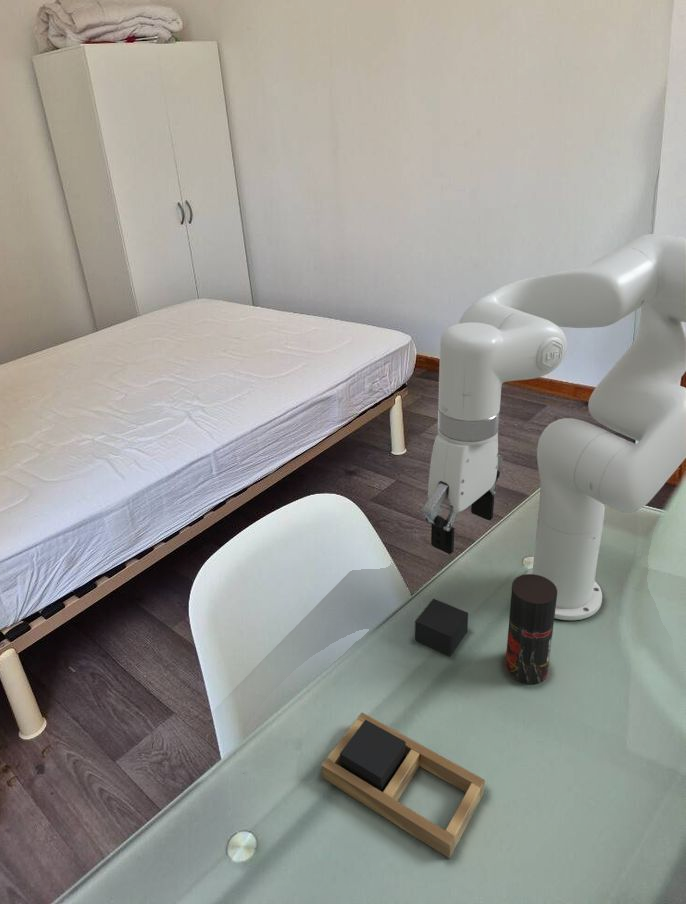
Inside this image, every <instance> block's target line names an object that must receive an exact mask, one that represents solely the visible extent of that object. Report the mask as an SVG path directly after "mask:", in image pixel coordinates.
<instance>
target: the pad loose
mask: <svg viewBox="0 0 686 904" xmlns="http://www.w3.org/2000/svg"><path fill="white" fill-rule="evenodd" d="M468 624H469V612H468V611H465V610H463V609H460V608H458V607H455V606H453V605H451V604H448V603H445V602H443V601H441V600H439V599H436V598H432V599H431V600H430V602H429V603H428V604H427V605H426V607H425V608H424V609H423V611H422V612H421V613H420V615H418V617H417V618H416V619H415V621H414V641H415V642H417V643H420V644H421V645H423V646H426V647H428V648H430V649H432V650H434V651H437V652H439V653H441V654H443V655H446V656H448V657H451V656H452V655H453V653H454V652H455V650H457V647H458V646H459V645H460V643H461V642H462V640H463V639H464V637H465V636H466V635H467V633H468V627H469V625H468Z"/></svg>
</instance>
